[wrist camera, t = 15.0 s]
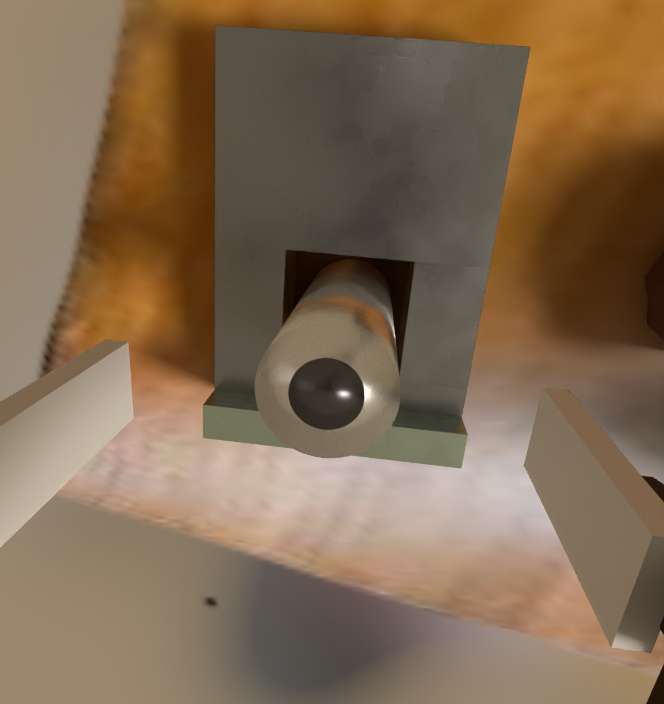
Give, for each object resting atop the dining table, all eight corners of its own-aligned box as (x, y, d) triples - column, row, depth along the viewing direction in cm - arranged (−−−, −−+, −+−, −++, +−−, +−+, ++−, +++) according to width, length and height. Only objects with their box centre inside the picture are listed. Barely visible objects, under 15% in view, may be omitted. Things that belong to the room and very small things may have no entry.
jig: (239, 47, 26) (200, 11, 21) (508, 66, 25) (544, 34, 20) (233, 393, 33) (203, 437, 27) (446, 417, 32) (461, 468, 26)
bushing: (311, 255, 29) (255, 316, 16) (395, 262, 29) (410, 332, 16) (306, 335, 31) (251, 451, 18) (385, 343, 31) (391, 467, 18)
